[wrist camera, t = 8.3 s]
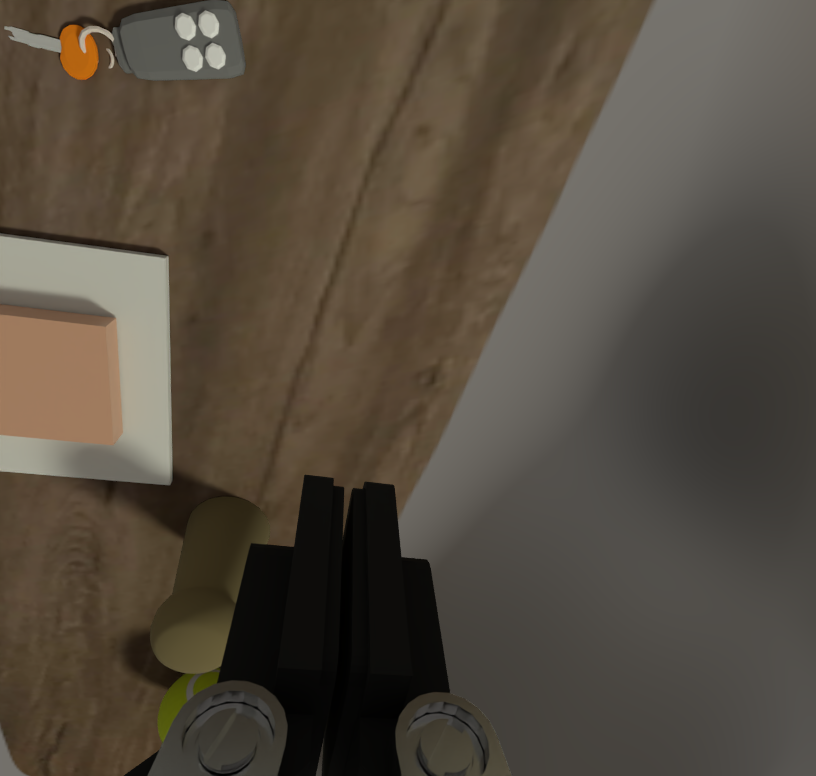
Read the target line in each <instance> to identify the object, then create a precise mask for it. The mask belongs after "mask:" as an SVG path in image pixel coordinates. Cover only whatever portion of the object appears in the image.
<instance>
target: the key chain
mask: <svg viewBox="0 0 816 776" xmlns="http://www.w3.org/2000/svg"><path fill="white" fill-rule="evenodd" d="M5 29H6V30H10V31H12V33H13V35H14V37H11V36H9V38H10V39H11V40H15V41H18V42H22V43H26V44H29V46H32V47H36V48H44V49H48V50H52V51H55V52H59V53H61V55H60V60H61V62H62V65H63V68H64V69H65V70H66V71H67V72H68V74H69V75H70V76H72V77H74V78H76V79H88V78H89V77H91V76H93V74H94V72H95V71H96V69H97V65H98V62H99V61H98V59H99V58H98V50H97V46H96V44H95V41H94V39H93V37H92V36H91V34H90V33H91V32H99V33H102V34H104V35H106V36H107V37H108V38H109V39H110V40H111V41H112V43H113V45H114V49H115V57H116V56H117V59H118V63H119V65H120V67H121V68H122V69H123V70H124V72H125V73H133V74H134V75H135V76H136V77H137V78H140V79H147V80H154V81H159V80H198V79H226V78H234V77H237V76H240V75H243V74H244V71H245V67H246V63H245V57H244V51H243V45H242V39H241V34H240V30H239V25H238V20H237V16H236V12H235V10H234V9H233V7H232V6H231V4H230V3H229V2H228V1H221V0H208V1H202V2H196V3H191V4H185V5H179V6H173V7H168V8H163V9H157V10H152V11H147V12H141V13H136V14H133V15H130V16H128V17H125V18H123V19H122V20H121V23H120V27H113V31H112V34H111V33H110V32H109V31H108V30H106V29H103V28H101V27H99V26H88V27H86V28H85V29H84V28H83V27H81V26H79V25H69V26H67V27H66V28H64V29H63V30H62V33H61V35H60V40H59V39H55V38H51V37H48V36H44V35H40V34H39V35H36V34H32V33H29V31H25V30H22V29H18V28H14V27H11V26H10V27H6V26H5ZM106 50H107V51H108V52H109V54H110V57H111V63H110V66H109V68H112V67H113V65H114V56H113V53H112V52H111V51H110V49H107V48H106Z"/></svg>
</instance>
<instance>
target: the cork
mask: <svg viewBox="0 0 816 776" xmlns="http://www.w3.org/2000/svg"><path fill="white" fill-rule="evenodd" d="M269 538H270V525H269V522H268V519H267V517H266V516H265V514H264V513H263V512H262V511H261V510H260V508H258V507H257V506H255V505H254V504H252V503H251V502H249V501H246V500H243V499H240V498H237V497H226V496H222V497H216V498H211V499H208V500H207V501H205V502H203V503H201V504H199V505H198V506H197V507H196V508H195V509H194V510H193V511H192V512H191V515H190V517H189V520H188V522H187V527H186V532H185V537H184V541H183V546H182V551H181V555H180V560H179V565H178V569H177V574H176V579H175V584H174V588H173V593H172V595H171V596H170V597H169V598H168V599H167V600H166V601H165V602H164V603H163V604H162V605H161V606H160V608H159V609H158V610H157V613H156V615H155V617H154V620H153V622H152V625H151V628H150V643H151V647H152V650H153V652H154V654H155V656H156V658H157V659H158V660H159V661H160V662H161V663H162V664H164V665H165V666H167V667H169V668H171V669H173V670H175V671H178V672H182V673H188V674H200V673H205V672H210V671H212V670H214V669H216V668H218V667H220V666H221V664H222V660H223V656H224V651H225V647H226V643H227V639H228V635H229V631H230V626H231V622H232V618H233V614H234V610H235V606H236V601H237V597H238V593H239V589H240V585H241V580H242V576H243V572H244V568H245V564H246V560H247V555H248V551H249V548H250V545H251V543H256V544H267V542H268V540H269Z"/></svg>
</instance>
